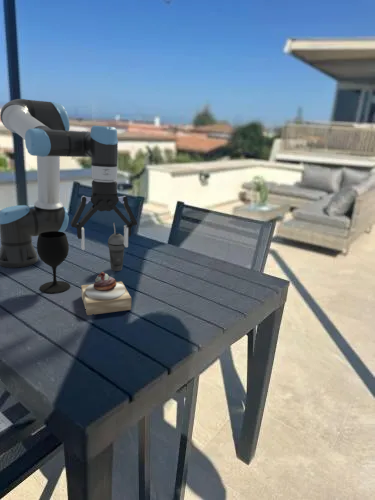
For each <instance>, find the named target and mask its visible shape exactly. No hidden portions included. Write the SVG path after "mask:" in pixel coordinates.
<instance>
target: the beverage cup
mask: <svg viewBox="0 0 375 500" xmlns="http://www.w3.org/2000/svg"><path fill="white" fill-rule="evenodd" d="M112 223H113V230H114V231H113V232H114V233H113V234H111V235H110V236H109V237H108V239H107V245H108V246H107V247H108V251H109V263H110V270H111V271H113V272H119V271H122V270H123V264H124V256H125V255H124V253H125V248H126V247H125V246H124V235H123V234H121V233H118V232H116V226H115V224H116V223H115V222H112Z"/></svg>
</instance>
